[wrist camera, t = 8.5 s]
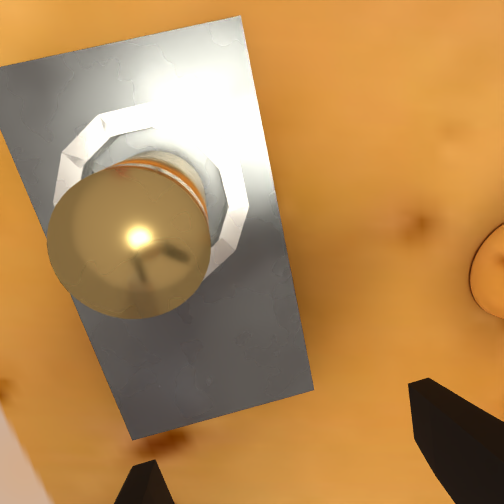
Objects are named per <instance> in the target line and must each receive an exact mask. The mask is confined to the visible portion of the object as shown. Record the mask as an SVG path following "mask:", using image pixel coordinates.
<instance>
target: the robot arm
mask: <svg viewBox="0 0 504 504" xmlns="http://www.w3.org/2000/svg"><path fill="white" fill-rule="evenodd" d="M408 388H409V397H410V406H411V414H412V423H413V432H414V439H415V441H416V443H417V445H418V446H419V448H420V450H421V452H422V454H423V455H424V457H425V459H426V461H427V462H428V464H429V466H430V467H431V469H432V471H433V472H434V474H435V476H436V477H437V479H438V480H439V481H440V483H441V484H442V486H443V487H444V488H445V490H446V491H447V492H448V494H449V495H450V497H451V498H452V499H453V501H454V502H455V504H504V422H503V421H501V420H499V419H497V418H496V417H494V416H492V415H490V414H489V413H487V412H485V411H484V410H482V409H480V408H478V407H477V406H475V405H473V404H472V403H470V402H468V401H467V400H465V399H463V398H462V397H460V396H458V395H457V394H455V393H453V392H452V391H450V390H448V389H447V388H445V387H443V386H442V385H440V384H438V383H437V382H435V381H433V380H432V379H430V378H426V379H422V380H419V381H416V382H412V383H409V384H408ZM114 504H174V502H173V499H172V497H171V495H170V492H169V490H168V488H167V485H166V483H165V481H164V478H163V476H162V474H161V471H160V469H159V467H158V464H157V462H156V460H151V461H148V462H145V463H141V464H138V465H135V466H133V467H132V469H131V470H130V472H129V474H128V476H127V478H126V480H125V482H124V484H123V486H122V488H121V490H120V492H119V494H118V497H117V499H116V501H115V503H114Z"/></svg>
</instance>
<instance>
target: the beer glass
mask: <svg viewBox="0 0 504 504" xmlns="http://www.w3.org/2000/svg"><path fill="white" fill-rule="evenodd" d="M470 287H471V291H472V294H473V297H474V299H475V301H476V302H477V303H478V305H479V306H480V307H481V308H482V309H483V310H485V311H486V312H488V313H490V314H491V315H494V316H496V317H499V318H501V319H504V224H503V225H501V226H500V227H499V228H497V229H496V230H495V231H494V232H493V233H492V234H491V235H490V236H489V237H488V238H487V239H486V240H485V241H484V243H483V244H482V245H481V247H480V249H479V250H478V252H477V254H476V256H475V258H474V261H473V264H472V268H471V273H470Z"/></svg>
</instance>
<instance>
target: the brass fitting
mask: <svg viewBox="0 0 504 504" xmlns="http://www.w3.org/2000/svg"><path fill="white" fill-rule="evenodd" d="M47 248H48V255H49V258H50V262H51V265H52V267H53V269H54V272H55V274H56V275H57V277H58V279H59V280H60V282H61V283H62V284H63V286H64V287H65V288H66V289H67V291H68V292H69V293H70V294H72V295H73V296H74V297H75V298H76V299H77V300H79V301H80V302H81V303H83V304H84V305H86V306H87V307H89V308H91V309H93V310H95V311H97V312H100V313H102V314H105V315H108V316H112V317H117V318H123V319H144V318H150V317H154V316H158V315H161V314H164V313H166V312H169V311H171V310H173V309H175V308H176V307H178V306H180V305H181V304H182V303H184V302H185V301H186V300H187V299H188V298H189V297H190V296H192V295H193V293H194V292H195V291H196V290H197V288H198V287H199V286H200V284H201V282H202V281H203V279H204V277H205V274H206V272H207V269H208V266H209V262H210V255H211V240H210V232H209V223H208V214H207V206H206V197H205V190H204V186H203V183H202V181H201V179H200V177H199V175H198V173H197V172H196V171H195V169H194V168H193V167H192V166H191V165H190V164H189V163H188V162H186V161H185V160H184V159H182V158H180V157H179V156H176V155H174V154H172V153H168V152H164V151H146V152H142V153H139V154H136V155H134V156H132V157H129V158H127V159H125V160H123V161H121V162H118V163H116V164H114V165H112V166H109V167H107V168H105V169H103V170H100V171H98V172H96V173H94V174H92V175H89V176H87V177H85V178H84V179H82V180H80V181H78V182H77V183H76V184H75V185H73V186H72V187H71V188H69V190H68V191H67V192H66V193H65V194H64V195H63V196H62V197H61V199H60V200H59V201H58V203H57V204H56V206H55V208H54V210H53V212H52V214H51V218H50V221H49V224H48V231H47Z"/></svg>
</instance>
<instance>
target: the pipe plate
mask: <svg viewBox="0 0 504 504" xmlns="http://www.w3.org/2000/svg"><path fill="white" fill-rule="evenodd" d="M0 129H1V132H2V134H3V137H4V139H5V141H6V144H7V146H8V148H9V151H10V153H11V155H12V158H13V160H14V162H15V165H16V167H17V170H18V172H19V174H20V177H21V179H22V181H23V184H24V186H25V188H26V191H27V193H28V195H29V198H30V200H31V203H32V205H33V207H34V210H35V212H36V214H37V217H38V219H39V221H40V224H41V226H42V228H43V231H44V233H45V236H46V238H47V231H48V224H49V221H50V218H51V214H52V212H53V210H54V208H55V206H56V204H57V203H58V201H59V200H60V199H61V197H62V196H63V195H64V194H65V193H66V192H67V191H68V190H69V188H71V187H72V186H73V185H75V184H76V183H77V182H78V181H80V180H82V179H84V178H85V177H87V176H89V175H92V174H94V173H96V172H98V171H100V170H103V169H105V168H107V167H109V166H112V165H114V164H116V163H118V162H121V161H123V160H125V159H127V158H129V157H132V156H134V155H136V154H139V153H142V152H146V151H164V152H168V153H172V154H174V155H176V156H179V157H180V158H182V159H184V160H185V161H186V162H188V163H189V164H190V165H191V166H192V167H193V168H194V169H195V171H196V172H197V173H198V175H199V177H200V179H201V181H202V183H203V186H204V190H205V197H206V206H207V214H208V223H209V232H210V240H211V255H210V262H209V266H208V269H207V272H206V274H205V277H204V279H203V281H202V282H201V284H200V286H199V287H198V288H197V290H196V291H195V292H194V293H193V295H192V296H190V297H189V298H188V299H187V300H186V301H185V302H184V303H182V304H181V305H180V306H178V307H176V308H175V309H173V310H171V311H169V312H166V313H164V314H161V315H158V316H154V317H150V318H144V319H123V318H117V317H112V316H108V315H105V314H102V313H100V312H97V311H95V310H93V309H91V308H89V307H87V306H86V305H84V304H83V303H81V302H80V301H79V300H77V299H76V298H75V297H74V296H73V295H72V294H71V297H72V299H73V302H74V304H75V306H76V309H77V311H78V313H79V316H80V318H81V320H82V323H83V325H84V327H85V330H86V332H87V335H88V337H89V339H90V342H91V344H92V346H93V349H94V351H95V353H96V356H97V358H98V360H99V363H100V365H101V368H102V370H103V372H104V375H105V377H106V379H107V382H108V384H109V386H110V389H111V391H112V393H113V396H114V398H115V401H116V403H117V405H118V408H119V410H120V412H121V415H122V417H123V419H124V422H125V424H126V426H127V429H128V431H129V434H130V436H131V438H132V440H136V439H140V438H143V437H147V436H150V435H154V434H158V433H161V432H165V431H168V430H172V429H176V428H179V427H183V426H186V425H190V424H194V423H197V422H201V421H204V420H208V419H212V418H215V417H219V416H222V415H226V414H230V413H233V412H237V411H240V410H244V409H248V408H251V407H255V406H258V405H262V404H266V403H269V402H273V401H276V400H280V399H284V398H287V397H291V396H294V395H298V394H302V393H305V392H309V391H312V390H314V386H313V381H312V376H311V371H310V366H309V361H308V356H307V351H306V345H305V340H304V335H303V330H302V325H301V320H300V315H299V310H298V305H297V300H296V295H295V290H294V284H293V279H292V274H291V269H290V264H289V259H288V254H287V249H286V244H285V239H284V234H283V229H282V223H281V218H280V213H279V208H278V203H277V198H276V193H275V188H274V183H273V178H272V173H271V168H270V162H269V157H268V152H267V147H266V142H265V137H264V132H263V127H262V122H261V117H260V112H259V107H258V101H257V96H256V91H255V86H254V81H253V76H252V71H251V66H250V61H249V56H248V51H247V46H246V40H245V35H244V30H243V25H242V20H241V16H236V17H232V18H227V19H222V20H218V21H213V22H208V23H204V24H199V25H194V26H190V27H185V28H180V29H176V30H171V31H166V32H162V33H157V34H152V35H148V36H143V37H138V38H134V39H129V40H124V41H120V42H115V43H110V44H106V45H101V46H96V47H92V48H87V49H82V50H78V51H73V52H68V53H64V54H59V55H54V56H50V57H45V58H40V59H36V60H31V61H26V62H22V63H17V64H12V65H8V66H3V67H0Z"/></svg>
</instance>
